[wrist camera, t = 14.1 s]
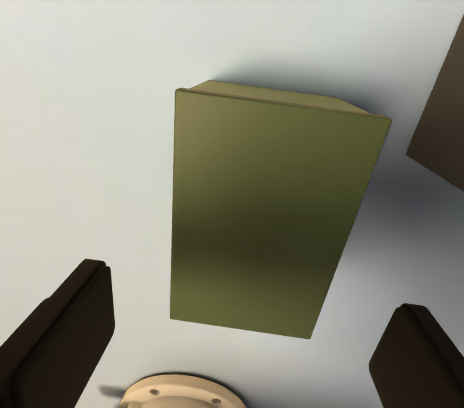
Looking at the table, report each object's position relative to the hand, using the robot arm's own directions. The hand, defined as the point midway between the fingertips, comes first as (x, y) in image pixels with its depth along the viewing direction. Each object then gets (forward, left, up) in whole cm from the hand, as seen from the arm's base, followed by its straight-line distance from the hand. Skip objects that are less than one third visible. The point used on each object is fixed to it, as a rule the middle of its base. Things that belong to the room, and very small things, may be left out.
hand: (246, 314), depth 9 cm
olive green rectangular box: (0, +1, -8) cm, 9 cm away
